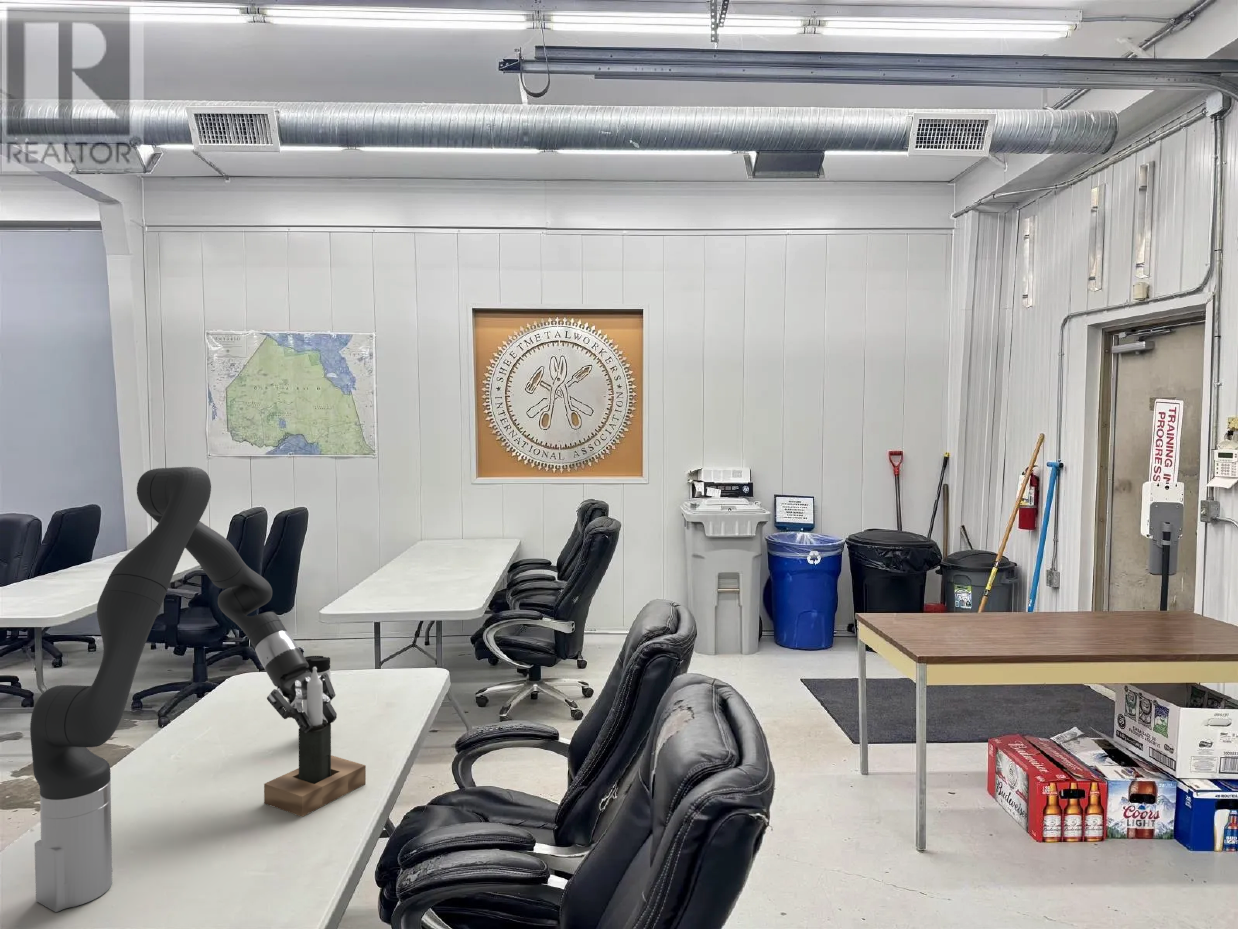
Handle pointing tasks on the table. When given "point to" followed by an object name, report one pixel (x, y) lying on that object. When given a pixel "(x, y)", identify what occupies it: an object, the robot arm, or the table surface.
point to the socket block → (314, 787)
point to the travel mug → (318, 671)
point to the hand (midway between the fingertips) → (321, 725)
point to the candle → (315, 737)
